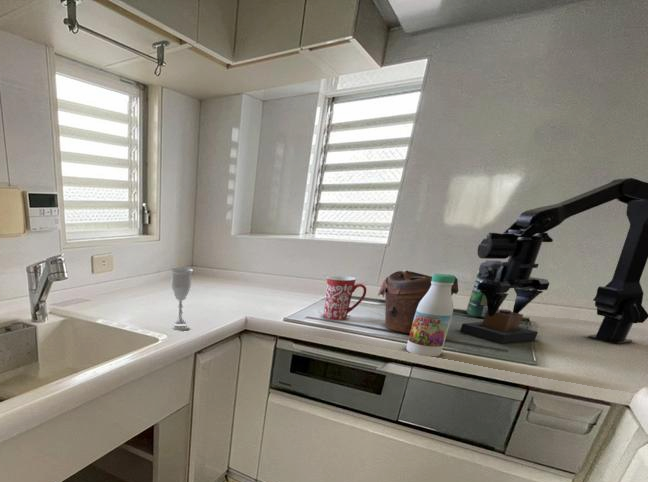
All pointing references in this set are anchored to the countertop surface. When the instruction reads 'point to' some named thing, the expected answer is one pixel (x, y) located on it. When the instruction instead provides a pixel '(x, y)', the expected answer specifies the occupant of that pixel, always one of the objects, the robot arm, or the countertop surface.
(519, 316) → the walnut block
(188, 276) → the chalice
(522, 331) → the dark square frame
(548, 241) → the robot arm
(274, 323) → the countertop surface
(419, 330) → the milk bottle
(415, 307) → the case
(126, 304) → the countertop surface
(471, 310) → the coffee jar
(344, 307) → the mug
